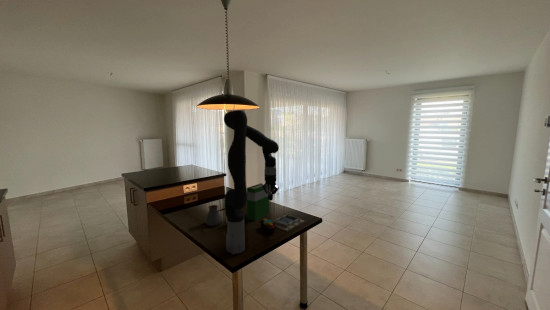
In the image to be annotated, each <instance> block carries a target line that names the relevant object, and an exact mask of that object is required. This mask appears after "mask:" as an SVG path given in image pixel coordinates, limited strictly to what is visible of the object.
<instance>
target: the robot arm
mask: <svg viewBox="0 0 550 310" xmlns="http://www.w3.org/2000/svg"><path fill="white" fill-rule="evenodd" d="M223 122H224V124H225V126H226V127H228V128H229V129H232V130H233V140H232V142H231V144H230V147H229V150H228V151H227V169H228V171H229V173H230V177H231V178H232V181H233V188H231V189H229V190H228V191H226V194H225V196H224V208H225V210H224V211H225V215H226V219H227V221H226V223H227V225H226V226H227V232H226V234H225V245H226V246H225V247H226V250H225V251H226V252H228V253H229V254H231V255H233V256H235V254H236V255H237V254H241V253H243V252H244V251H245V250H246V239H245V237H246V234H245V233H246V231H245V229H246V228H245V227H246V225H245V213H244V212H243V210H242V209H244V208H245V207H246V206H247V180H246V179H247V178H246V177H247V176H246V160H247V159H246V157H247V156H246V146H247V145H246V142H247V141H246V140H247V139H249V140H250V141H252V142H253V143H254V144H255V145H257V146H258V147H261V150H262V154H263V157H264V158H263V159H264V184H263V185H262V187H263V189H264V190H265V192H266V193H267V194H268V200H269V202H270V201H273V200H274V195H275V194H276V193H277V192H278V191H279V189H280V187H279V186H278V185H277V183H276V181H277V158H276V157H275V156H272V154H276V153H277V152H278V151H279V150H280V149H279V148H280V146H279V144H278V143H277V142H276V140H273V139H272V138H269V137H267V136H266V135H265V134H264V133H262V131H259V130H258V129H256V128H253V127H251V126H249V125H248V117H247V113H246V112H245V111H244V110H241V109H237V110H231V111H227V112H226V113H225V114H224V116H223Z"/></svg>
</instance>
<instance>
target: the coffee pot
mask: <svg viewBox="0 0 550 310" xmlns="http://www.w3.org/2000/svg"><path fill="white" fill-rule="evenodd" d="M218 208H219V206H218V205H216V204H213V205H212V204H211V205H209V206H208V209H209V210H208V213H207V215H206V217H205V220H204V223H205V225H206V226H209V227H216V226H218V225H220V224H221V223H222V222H223V218H222V216H221V215H220V212H221V211H225V207H224V208H223V207H222V208H221V209H218Z"/></svg>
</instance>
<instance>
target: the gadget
mask: <svg viewBox="0 0 550 310" xmlns="http://www.w3.org/2000/svg"><path fill="white" fill-rule="evenodd" d="M272 222H273V220H272V219H268V218H263V219H262V220H260V221H259V224H260V227H261V228H263V229H264V230H266V232H267V233H273V232H275V230H276V229H277V227H276V225H274V224H273V223H272Z"/></svg>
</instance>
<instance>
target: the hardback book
mask: <svg viewBox="0 0 550 310" xmlns="http://www.w3.org/2000/svg"><path fill="white" fill-rule="evenodd" d="M262 185H264V184H263V183H257V184H255V185H251V186H248V187H246V190H247V202H246V217H247V218H246V219H247V220H250V221H253V222H256V221H258V220H260V219H261V218H263V217H265V216H267V215H268V213H269V214H270V201H269V200H268V194H267V193H266V192H265V190H264V189H263V187H262Z"/></svg>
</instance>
